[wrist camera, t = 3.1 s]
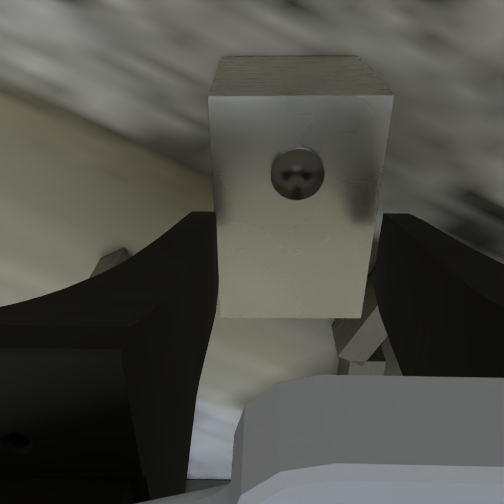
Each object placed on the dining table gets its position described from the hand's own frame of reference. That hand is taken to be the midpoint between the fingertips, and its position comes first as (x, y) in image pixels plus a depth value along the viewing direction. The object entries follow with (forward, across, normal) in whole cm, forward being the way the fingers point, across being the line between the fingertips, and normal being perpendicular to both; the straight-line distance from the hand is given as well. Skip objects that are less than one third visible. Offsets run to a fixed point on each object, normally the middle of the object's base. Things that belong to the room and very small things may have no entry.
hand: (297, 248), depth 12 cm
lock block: (+6, 0, 0) cm, 7 cm away
